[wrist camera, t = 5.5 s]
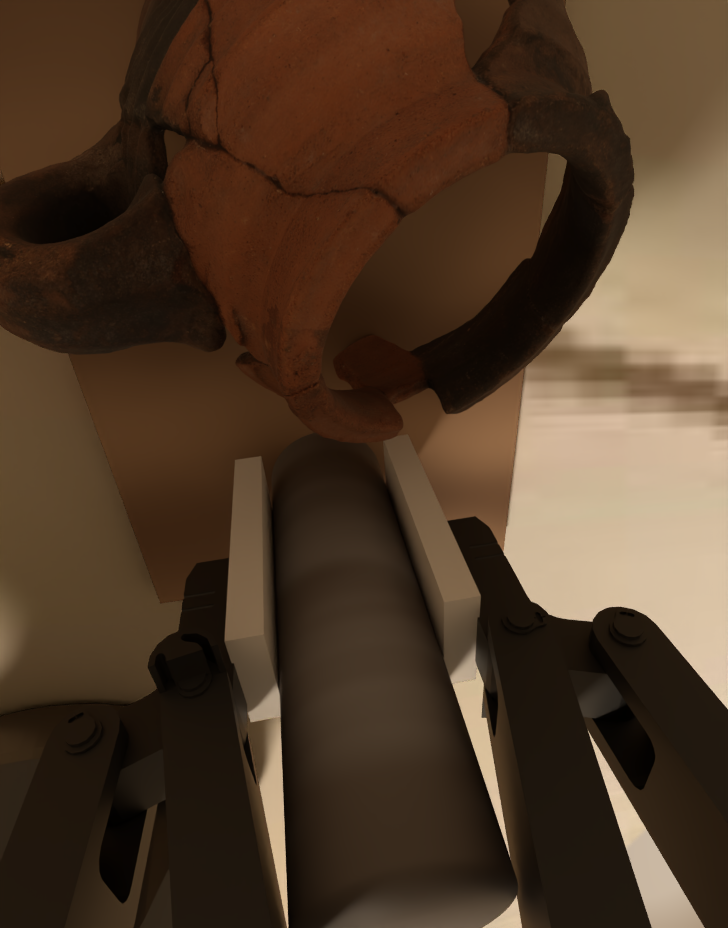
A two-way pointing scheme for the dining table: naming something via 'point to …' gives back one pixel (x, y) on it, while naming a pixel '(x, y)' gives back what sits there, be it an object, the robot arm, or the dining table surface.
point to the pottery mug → (313, 195)
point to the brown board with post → (317, 499)
